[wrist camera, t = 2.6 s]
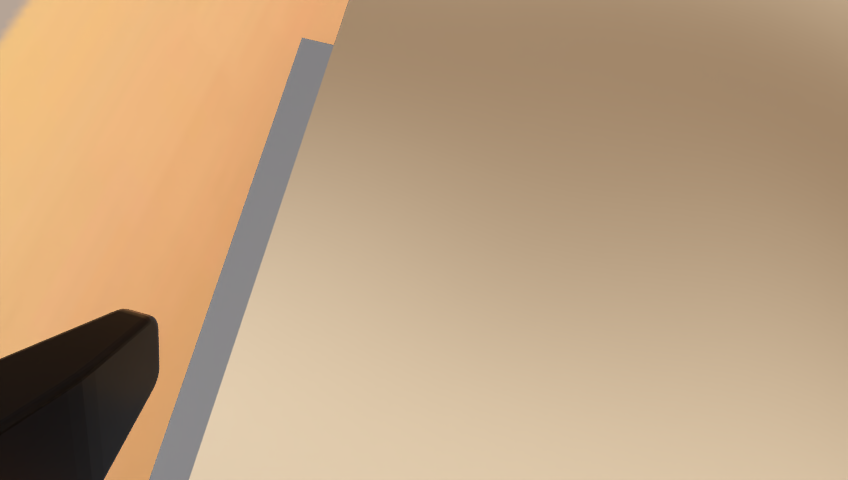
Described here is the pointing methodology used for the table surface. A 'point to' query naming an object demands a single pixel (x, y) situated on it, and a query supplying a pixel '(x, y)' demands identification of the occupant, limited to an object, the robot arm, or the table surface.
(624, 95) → the birch block
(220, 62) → the table surface
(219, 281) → the slate tile
